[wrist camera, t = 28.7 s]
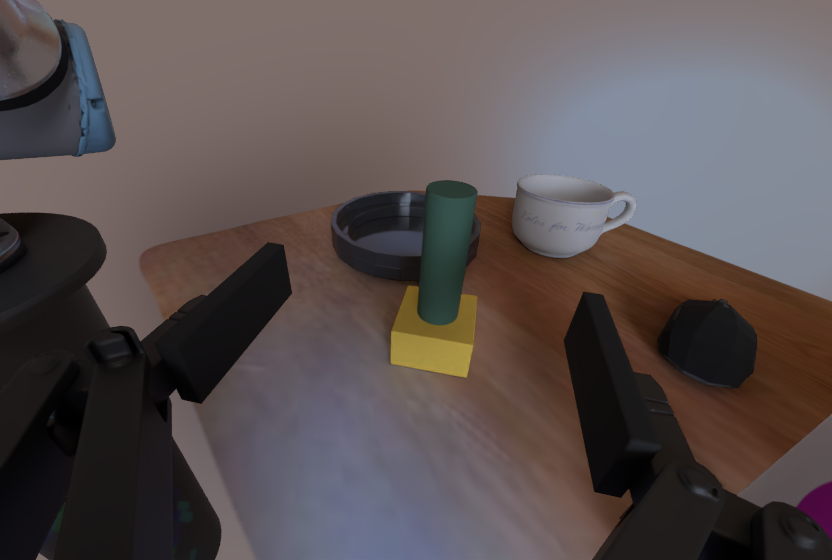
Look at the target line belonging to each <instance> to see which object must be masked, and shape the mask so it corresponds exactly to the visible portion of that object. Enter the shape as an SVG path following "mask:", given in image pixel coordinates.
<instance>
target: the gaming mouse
mask: <svg viewBox="0 0 832 560" xmlns="http://www.w3.org/2000/svg"><path fill="white" fill-rule="evenodd" d="M657 342H658V350H659V352H660V353H661V354H662V355H663V356H664V357H665V358H666V359H667V360H669V361H670V362H671V363H672V364H673V365H674V366H675V367H676V368H677V369H678V370H679V371H681V372H682V373H683V374H685V375H687V376H689V377H691V378H693V379H695V380H697V381H699V382H701V383H704V384H706V385H713V386H721V387H728V388H739V386H740V385H741V384H742V383H743V382H744V380H745V379H746V378H748V377H749V376H750V375H751V374H752V373H753V370H754V365H755V359H756V350H757V334H756V332H755V330H754V329H753V327H752V326H751V325H750V324H749V323H748V322H747V321H746V320H745V319H744V318H743V317H742V316H741V315H740V314H739V313H738V312H737V311H736V310H735V309H734V308H733V307H732V306H731V305H728V301H726V300H723V299H720V300H719V301H717V300H716V299H713V300H712V301H701V300H687V301H685V302H684V303H681V304H680V305H679V306H678V307H677V308H676V309H675V311H674V312H673V314H672V315H671V317H670V319H669V320H668V322H667V323H666V325H665V327H664V328H663V330H662V332H661V334H660V336H659V338H658V340H657Z"/></svg>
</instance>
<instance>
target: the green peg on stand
mask: <svg viewBox="0 0 832 560" xmlns="http://www.w3.org/2000/svg"><path fill="white" fill-rule="evenodd" d="M476 199H477V190H476V189H475V188H474V187H473V186H471V185H469V184H466V183H463V182H457V181H449V180H445V181H437V182H432V183H430V184H429V185H428V186H427V188H426V201H425V214H424V227H423V240H422V253H421V266H420V280H419V287H416V286H410V285H408V287H407V290H406V292H405V295H404V298H403V300H402V303H401V306H400V308H399V311H398V314H397V317H396V319H395V322H394V325H393V327H392V330H391V357H390V363H391V364H394V365H400V366H405V367H410V368H416V369H421V370H426V371H432V372H437V373H442V374H447V375H453V376H458V377H463V378H467V374H468V370H469V365H470V360H471V355H472V350H473V345H474V333H475V321H476V310H477V298H478V297H477V296H473V295H467V294H461V292H462V286H463V280H464V274H465V268H466V261H467V255H468V249H469V243H470V236H471V230H472V224H473V218H474V211H475V205H476Z"/></svg>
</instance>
